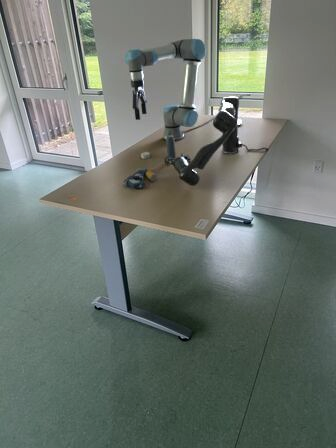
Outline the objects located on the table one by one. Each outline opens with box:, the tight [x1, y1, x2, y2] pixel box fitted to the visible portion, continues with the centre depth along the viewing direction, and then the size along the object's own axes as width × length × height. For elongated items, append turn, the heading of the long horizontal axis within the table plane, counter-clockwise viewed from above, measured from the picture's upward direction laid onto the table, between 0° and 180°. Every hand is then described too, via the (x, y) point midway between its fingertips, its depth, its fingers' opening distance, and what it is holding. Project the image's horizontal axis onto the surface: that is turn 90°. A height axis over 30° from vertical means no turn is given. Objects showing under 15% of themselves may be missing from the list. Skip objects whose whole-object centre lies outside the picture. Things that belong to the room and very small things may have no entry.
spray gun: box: [123, 167, 158, 189], centre depth 183 cm, size 21×4×15 cm
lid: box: [140, 151, 151, 159], centre depth 217 cm, size 6×6×2 cm
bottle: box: [165, 135, 177, 160], centre depth 205 cm, size 5×5×15 cm
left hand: (141, 116), depth 205 cm, fingers open, 13 cm apart
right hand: (174, 156), depth 197 cm, fingers open, 8 cm apart
